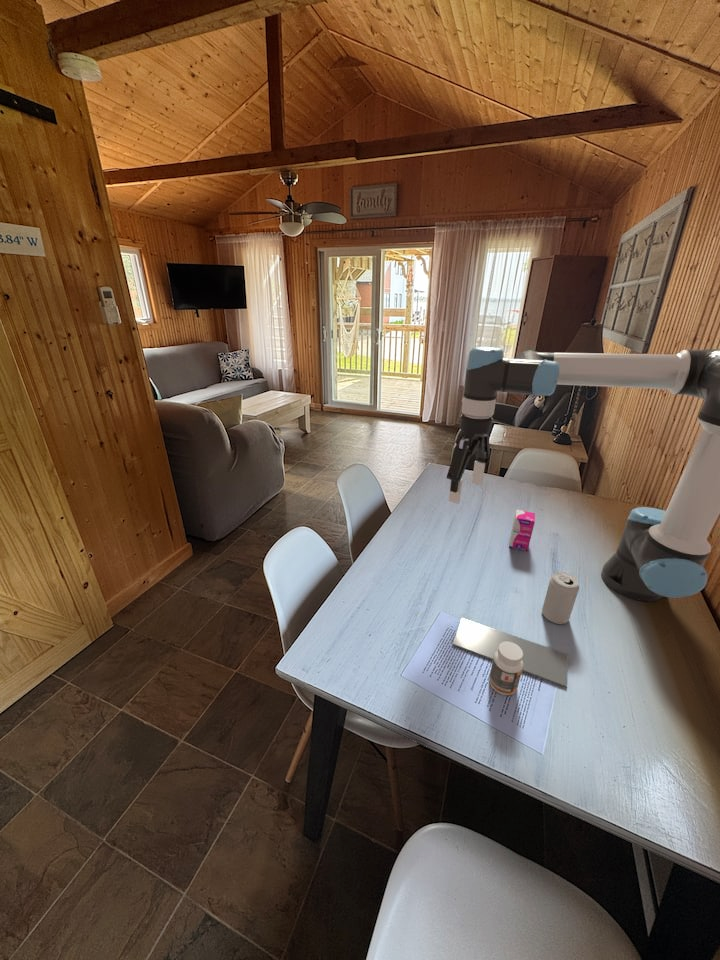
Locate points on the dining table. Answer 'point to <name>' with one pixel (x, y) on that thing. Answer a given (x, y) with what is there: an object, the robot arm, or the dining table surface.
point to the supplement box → (522, 530)
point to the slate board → (535, 656)
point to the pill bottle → (506, 668)
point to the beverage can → (560, 597)
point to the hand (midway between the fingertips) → (465, 492)
